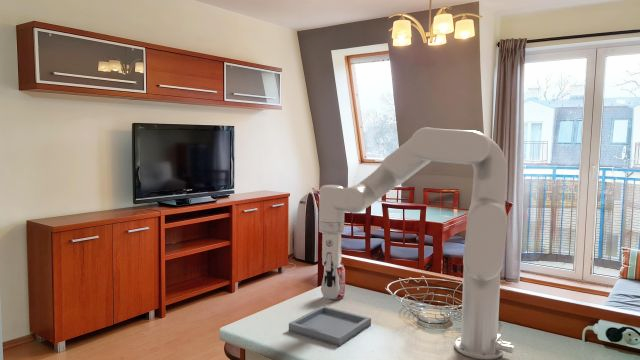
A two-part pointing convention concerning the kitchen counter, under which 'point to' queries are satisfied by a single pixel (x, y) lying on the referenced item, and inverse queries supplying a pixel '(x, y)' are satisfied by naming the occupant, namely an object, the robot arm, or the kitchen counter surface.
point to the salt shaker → (330, 291)
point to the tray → (330, 325)
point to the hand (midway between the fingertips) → (330, 286)
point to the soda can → (341, 281)
